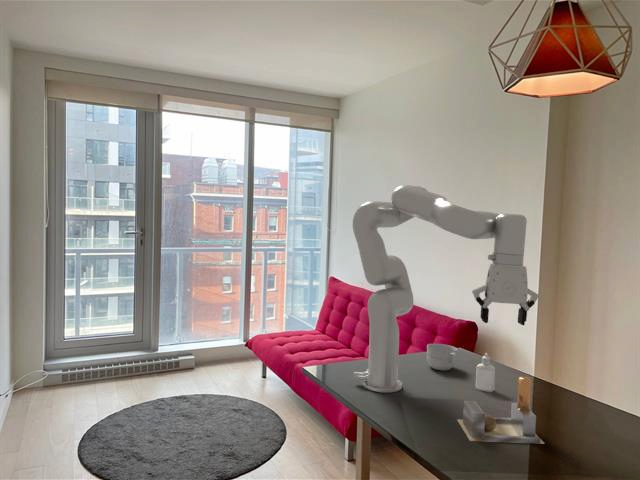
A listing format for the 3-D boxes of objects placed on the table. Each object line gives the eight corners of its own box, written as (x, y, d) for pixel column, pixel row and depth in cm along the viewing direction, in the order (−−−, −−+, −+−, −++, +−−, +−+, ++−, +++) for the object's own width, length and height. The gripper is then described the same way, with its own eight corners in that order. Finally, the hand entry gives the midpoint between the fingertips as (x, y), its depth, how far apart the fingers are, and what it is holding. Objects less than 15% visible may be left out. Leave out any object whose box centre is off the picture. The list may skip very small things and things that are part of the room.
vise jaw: (522, 437, 118) (525, 383, 118) (510, 423, 126) (513, 372, 126) (534, 438, 118) (537, 384, 118) (521, 423, 126) (524, 373, 126)
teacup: (421, 363, 180) (422, 342, 180) (448, 362, 182) (449, 342, 182) (437, 376, 167) (438, 353, 166) (466, 375, 169) (467, 353, 168)
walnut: (483, 435, 121) (481, 419, 120) (478, 427, 125) (476, 412, 124) (499, 433, 121) (497, 417, 120) (493, 425, 125) (492, 410, 124)
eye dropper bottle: (486, 393, 152) (488, 356, 151) (473, 387, 157) (474, 351, 156) (496, 391, 154) (498, 354, 153) (482, 385, 159) (484, 350, 158)
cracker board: (469, 446, 117) (471, 416, 116) (456, 424, 129) (458, 397, 128) (544, 449, 116) (546, 419, 116) (524, 427, 128) (525, 399, 128)
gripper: (479, 260, 125) (474, 324, 127) (546, 263, 124) (541, 328, 126) (471, 256, 133) (466, 317, 134) (535, 260, 132) (529, 321, 133)
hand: (502, 322), depth 130 cm, fingers open, 9 cm apart
